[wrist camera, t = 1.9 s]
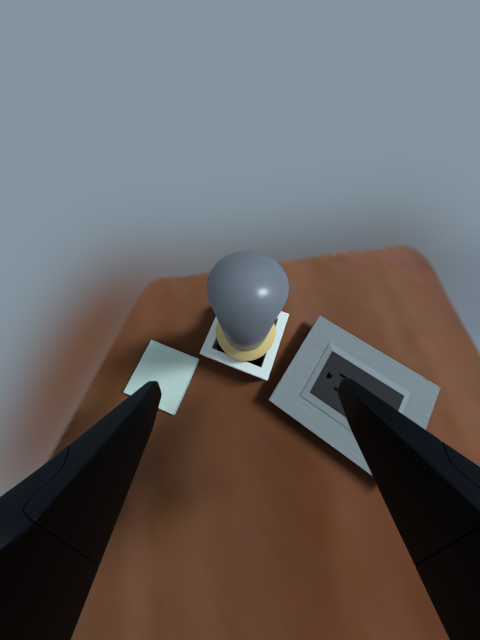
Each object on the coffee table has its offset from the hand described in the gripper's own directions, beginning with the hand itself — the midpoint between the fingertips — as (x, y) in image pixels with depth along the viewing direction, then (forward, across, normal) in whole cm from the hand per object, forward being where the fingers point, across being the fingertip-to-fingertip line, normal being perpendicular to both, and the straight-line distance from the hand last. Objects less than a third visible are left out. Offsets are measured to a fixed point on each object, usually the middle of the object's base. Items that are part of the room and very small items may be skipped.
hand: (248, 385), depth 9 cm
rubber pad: (+8, +9, +8) cm, 15 cm away
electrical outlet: (+8, -11, +10) cm, 16 cm away
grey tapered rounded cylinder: (+11, 0, +5) cm, 12 cm away
